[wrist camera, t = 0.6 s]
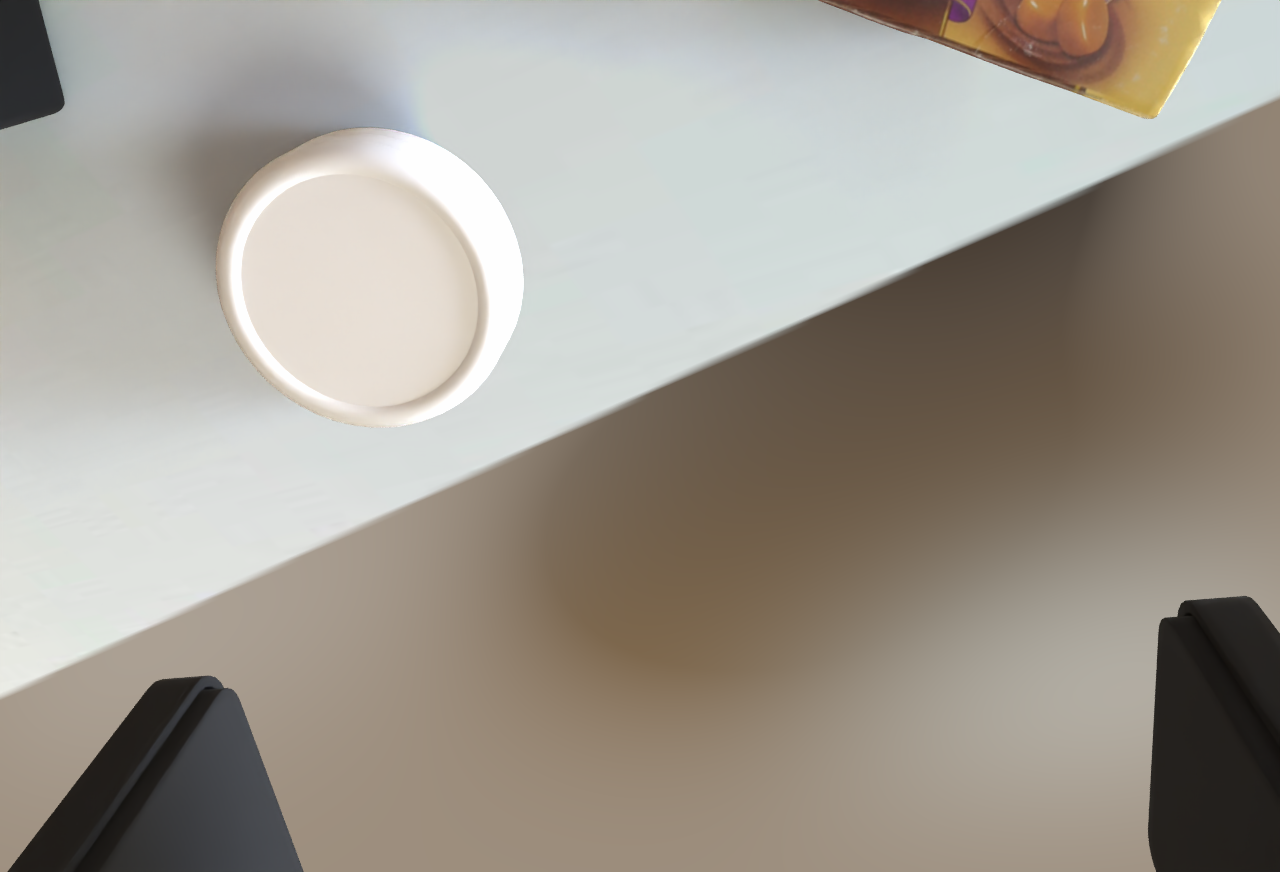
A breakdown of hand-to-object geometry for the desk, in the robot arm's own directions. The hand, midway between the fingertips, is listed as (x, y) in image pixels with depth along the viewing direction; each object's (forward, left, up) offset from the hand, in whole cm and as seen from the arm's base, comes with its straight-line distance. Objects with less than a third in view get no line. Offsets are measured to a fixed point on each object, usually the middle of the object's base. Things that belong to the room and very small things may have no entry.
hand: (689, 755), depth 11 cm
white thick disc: (+2, -12, -29) cm, 32 cm away
